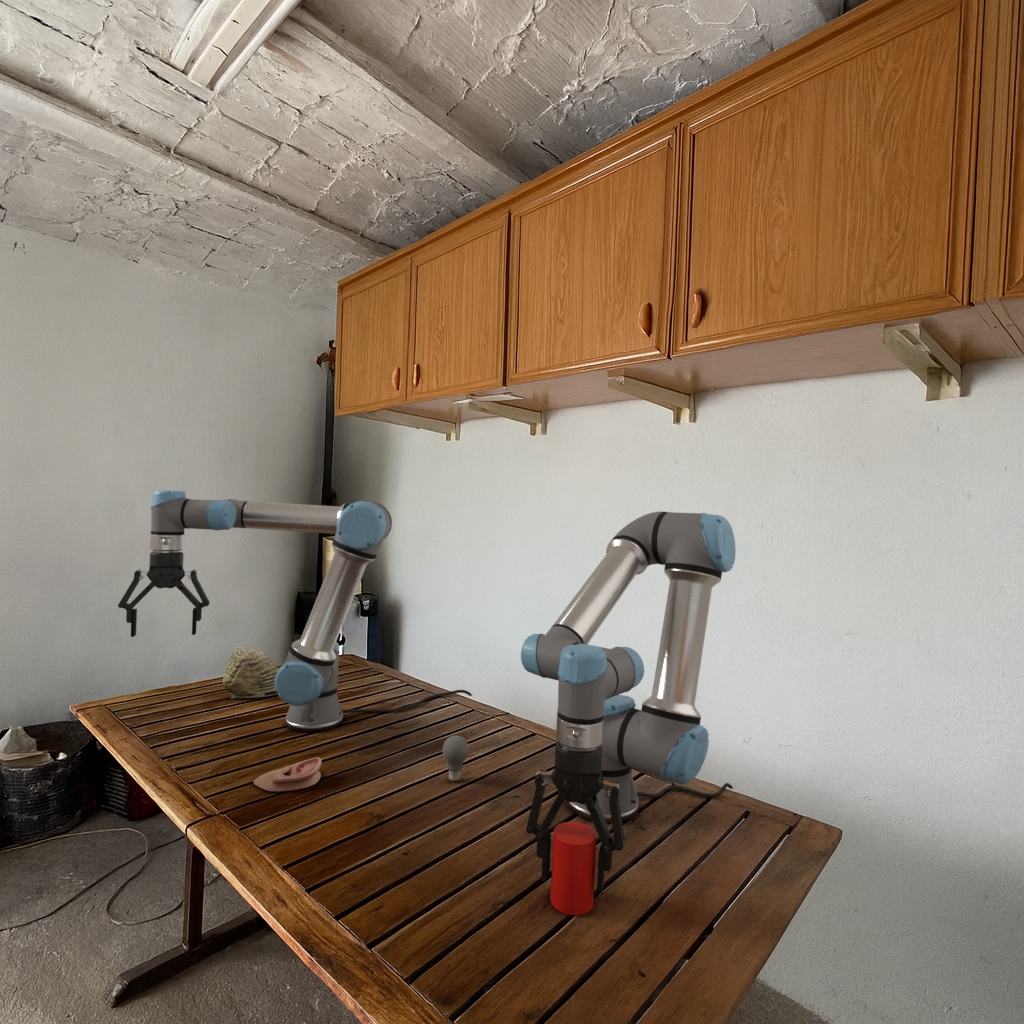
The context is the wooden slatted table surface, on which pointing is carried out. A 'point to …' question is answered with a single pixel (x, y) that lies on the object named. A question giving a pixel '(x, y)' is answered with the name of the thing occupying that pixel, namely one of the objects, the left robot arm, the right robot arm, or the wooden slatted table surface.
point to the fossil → (250, 674)
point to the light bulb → (455, 755)
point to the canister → (573, 868)
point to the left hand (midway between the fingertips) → (164, 634)
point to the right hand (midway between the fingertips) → (572, 882)
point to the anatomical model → (291, 776)
